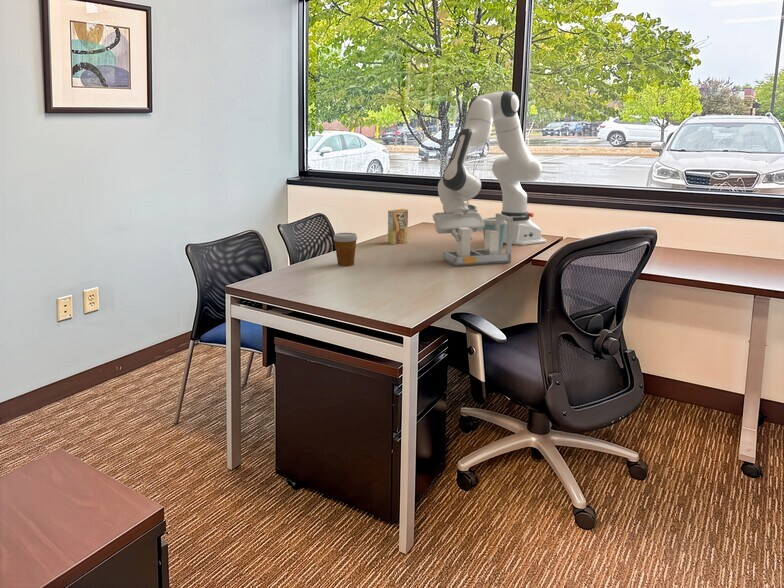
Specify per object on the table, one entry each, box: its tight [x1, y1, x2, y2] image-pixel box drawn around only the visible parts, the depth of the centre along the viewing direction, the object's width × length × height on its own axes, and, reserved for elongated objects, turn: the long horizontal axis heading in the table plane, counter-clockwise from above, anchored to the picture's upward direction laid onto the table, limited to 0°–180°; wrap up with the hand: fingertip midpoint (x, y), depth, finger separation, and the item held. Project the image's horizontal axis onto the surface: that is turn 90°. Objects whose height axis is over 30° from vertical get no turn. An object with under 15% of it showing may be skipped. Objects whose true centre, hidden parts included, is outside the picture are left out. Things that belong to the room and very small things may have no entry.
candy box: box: [387, 208, 409, 245], centre depth 294 cm, size 9×4×15 cm, turn 129°
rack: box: [443, 213, 513, 267], centre depth 255 cm, size 24×12×18 cm, turn 107°
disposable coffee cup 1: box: [332, 232, 358, 267], centre depth 250 cm, size 10×10×12 cm
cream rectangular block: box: [456, 227, 472, 257], centre depth 253 cm, size 4×5×11 cm
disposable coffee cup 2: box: [482, 216, 507, 254], centre depth 272 cm, size 11×11×15 cm
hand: (464, 239), depth 252 cm, fingers closed on cream rectangular block, 3 cm apart
